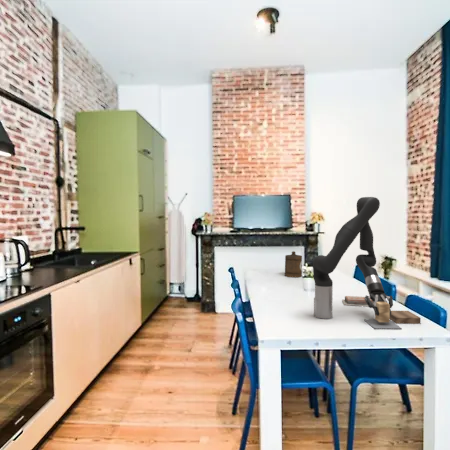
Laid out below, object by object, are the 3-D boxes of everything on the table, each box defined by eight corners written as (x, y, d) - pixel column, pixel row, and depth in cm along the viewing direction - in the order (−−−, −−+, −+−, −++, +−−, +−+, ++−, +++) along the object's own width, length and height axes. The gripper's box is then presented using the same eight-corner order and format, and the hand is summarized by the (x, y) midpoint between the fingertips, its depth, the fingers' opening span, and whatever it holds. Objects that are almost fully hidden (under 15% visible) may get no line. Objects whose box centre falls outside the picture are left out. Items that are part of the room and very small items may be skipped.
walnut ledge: (396, 323, 168) (396, 317, 168) (385, 316, 180) (385, 310, 180) (420, 323, 168) (420, 317, 167) (408, 316, 180) (408, 310, 179)
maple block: (379, 322, 164) (379, 304, 163) (375, 318, 169) (375, 301, 168) (389, 322, 164) (389, 304, 163) (384, 318, 169) (385, 301, 168)
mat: (374, 329, 160) (374, 328, 160) (364, 320, 173) (364, 319, 173) (401, 329, 160) (401, 328, 160) (389, 320, 173) (389, 319, 173)
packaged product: (372, 295, 206) (375, 300, 196) (372, 303, 206) (375, 308, 197) (342, 294, 210) (344, 298, 201) (342, 301, 210) (344, 306, 201)
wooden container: (304, 277, 288) (304, 252, 288) (289, 278, 285) (289, 252, 284) (297, 274, 303) (297, 250, 302) (282, 274, 299) (282, 250, 299)
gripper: (362, 281, 173) (371, 311, 162) (390, 281, 173) (401, 311, 161) (358, 289, 179) (367, 318, 167) (385, 289, 178) (395, 318, 167)
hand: (383, 314), depth 164 cm, fingers closed on maple block, 5 cm apart
